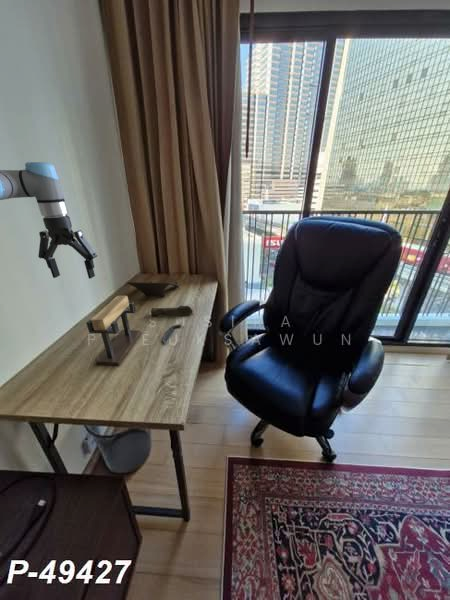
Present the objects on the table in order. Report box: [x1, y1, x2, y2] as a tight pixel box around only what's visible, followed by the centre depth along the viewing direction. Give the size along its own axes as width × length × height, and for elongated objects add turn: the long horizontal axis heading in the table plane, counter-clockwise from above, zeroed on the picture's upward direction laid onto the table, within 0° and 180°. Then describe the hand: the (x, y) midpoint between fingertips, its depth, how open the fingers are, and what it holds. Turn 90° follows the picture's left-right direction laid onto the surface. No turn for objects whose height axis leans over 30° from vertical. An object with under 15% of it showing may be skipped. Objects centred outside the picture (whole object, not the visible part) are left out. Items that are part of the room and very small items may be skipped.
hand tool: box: [150, 305, 193, 317], centre depth 117 cm, size 19×4×5 cm, turn 89°
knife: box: [162, 323, 182, 345], centre depth 104 cm, size 14×4×1 cm, turn 169°
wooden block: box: [90, 295, 130, 331], centre depth 90 cm, size 4×18×5 cm, turn 175°
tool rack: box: [85, 300, 142, 367], centre depth 93 cm, size 10×20×16 cm, turn 175°
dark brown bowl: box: [126, 281, 180, 298], centre depth 138 cm, size 23×23×9 cm
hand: (74, 276), depth 91 cm, fingers open, 13 cm apart
